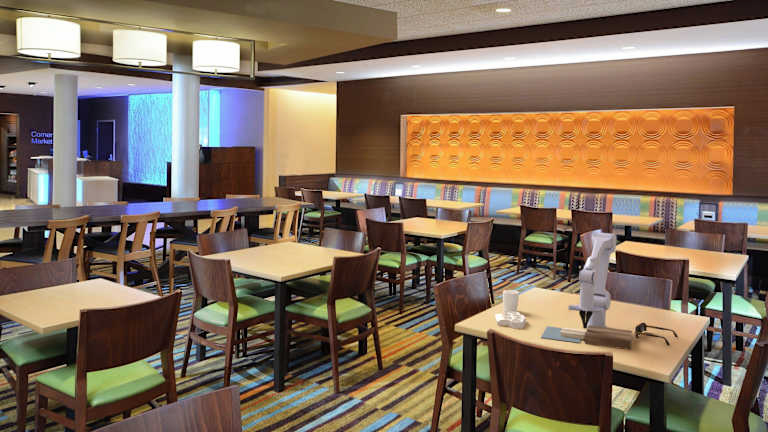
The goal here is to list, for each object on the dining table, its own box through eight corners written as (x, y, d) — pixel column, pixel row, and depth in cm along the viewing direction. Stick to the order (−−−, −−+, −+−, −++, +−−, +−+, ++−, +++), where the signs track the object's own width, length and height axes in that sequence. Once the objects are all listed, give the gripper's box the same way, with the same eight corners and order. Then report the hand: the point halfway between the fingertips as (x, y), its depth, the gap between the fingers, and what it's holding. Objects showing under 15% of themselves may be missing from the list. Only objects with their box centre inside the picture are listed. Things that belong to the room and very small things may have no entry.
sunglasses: (669, 346, 254) (670, 335, 254) (632, 338, 264) (632, 327, 263) (677, 338, 265) (678, 327, 264) (641, 331, 275) (642, 321, 274)
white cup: (518, 309, 307) (519, 290, 306) (517, 313, 299) (518, 294, 298) (502, 308, 309) (503, 289, 308) (501, 312, 302) (502, 292, 300)
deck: (587, 332, 270) (588, 325, 270) (631, 338, 263) (631, 330, 263) (584, 343, 255) (585, 335, 255) (630, 349, 248) (631, 341, 248)
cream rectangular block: (562, 331, 270) (562, 327, 269) (585, 334, 266) (586, 330, 265) (560, 336, 263) (560, 331, 263) (584, 339, 259) (584, 334, 259)
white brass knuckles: (494, 317, 294) (524, 318, 292) (497, 328, 276) (530, 329, 274) (494, 310, 293) (525, 311, 292) (498, 321, 275) (530, 322, 274)
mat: (547, 327, 278) (547, 326, 278) (583, 331, 272) (583, 330, 272) (541, 338, 261) (541, 337, 261) (579, 343, 255) (579, 342, 255)
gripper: (568, 297, 260) (566, 328, 262) (604, 301, 254) (602, 332, 256) (570, 293, 266) (568, 323, 268) (605, 297, 261) (603, 328, 262)
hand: (585, 327), depth 262 cm, fingers closed
